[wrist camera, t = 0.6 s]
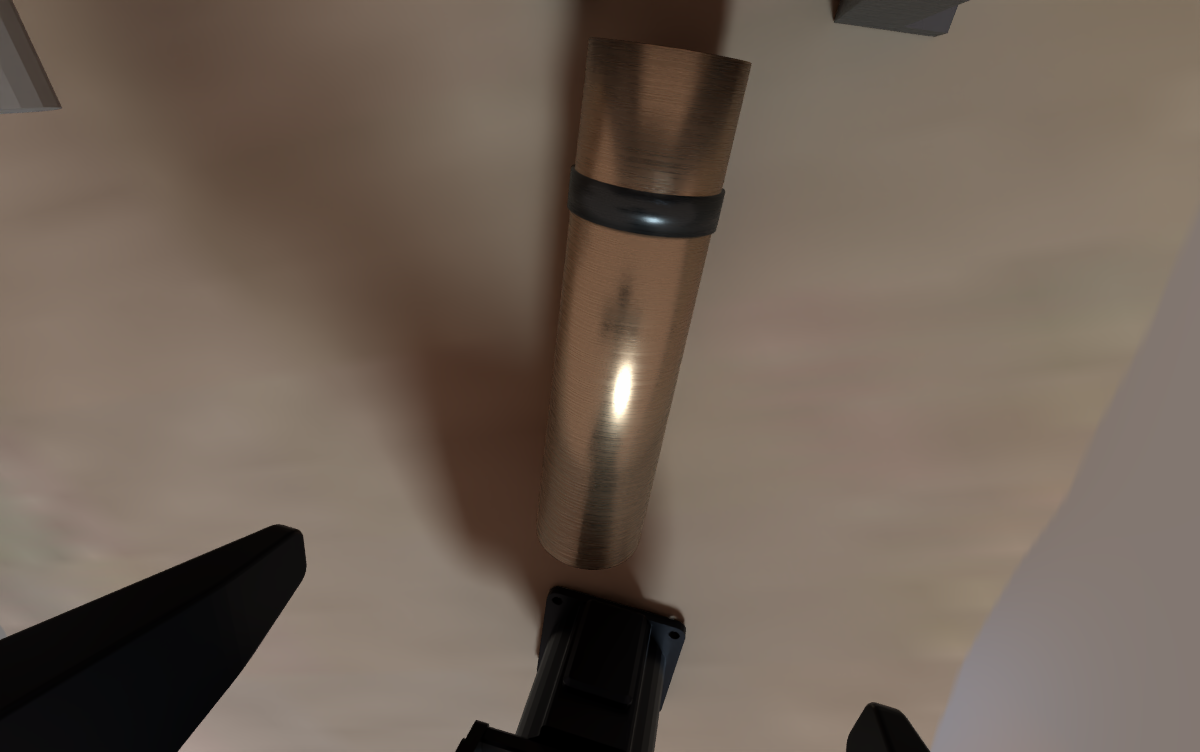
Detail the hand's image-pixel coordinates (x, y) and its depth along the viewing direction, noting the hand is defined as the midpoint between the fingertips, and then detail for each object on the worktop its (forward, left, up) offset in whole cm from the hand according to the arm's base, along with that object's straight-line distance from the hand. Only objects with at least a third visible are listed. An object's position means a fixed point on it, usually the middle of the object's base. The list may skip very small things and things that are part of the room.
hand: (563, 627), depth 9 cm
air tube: (0, 0, -12) cm, 12 cm away
